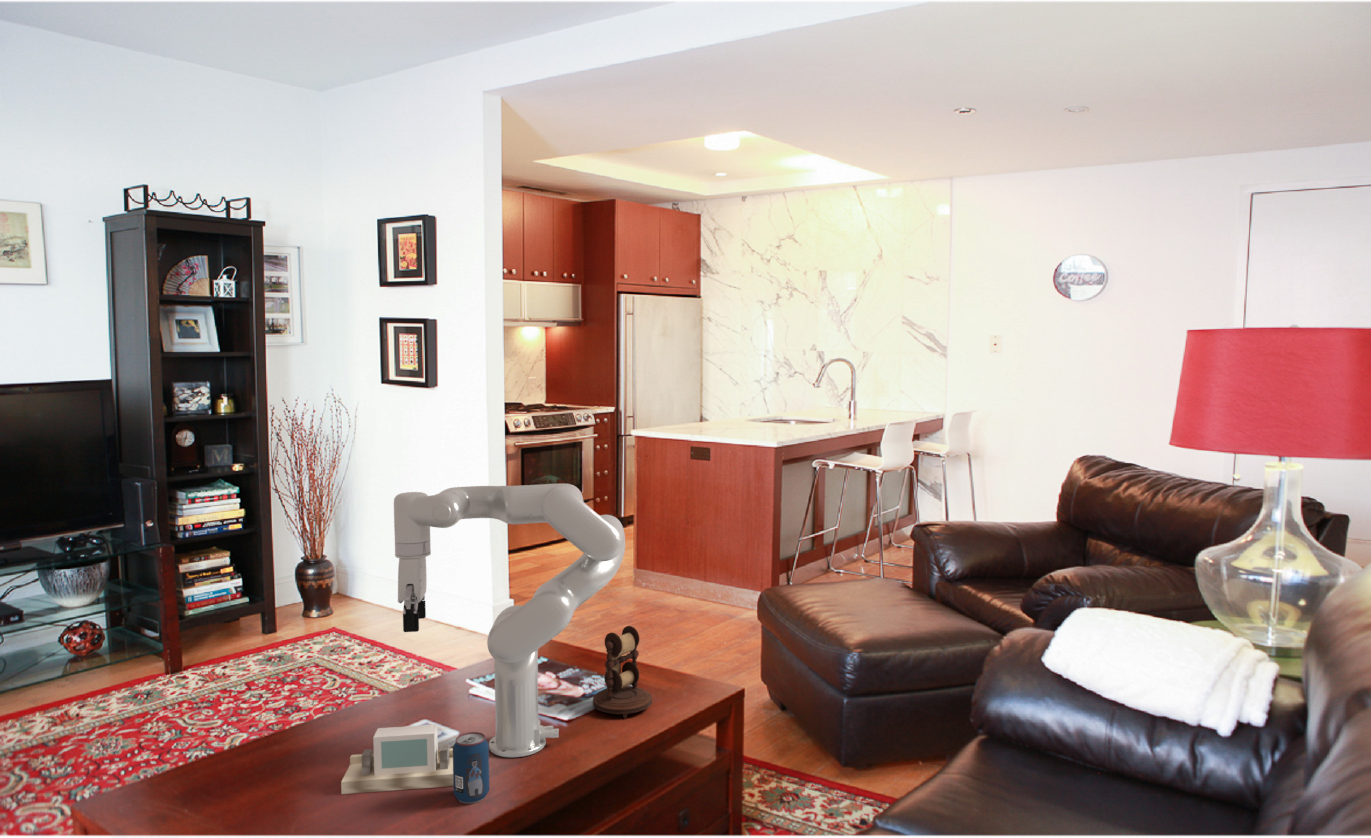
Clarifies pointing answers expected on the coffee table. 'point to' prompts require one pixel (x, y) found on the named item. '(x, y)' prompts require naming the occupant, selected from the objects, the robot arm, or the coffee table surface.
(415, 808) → the coffee table surface
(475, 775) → the soda can
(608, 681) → the thread spool stand
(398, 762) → the white block
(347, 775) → the ledge
